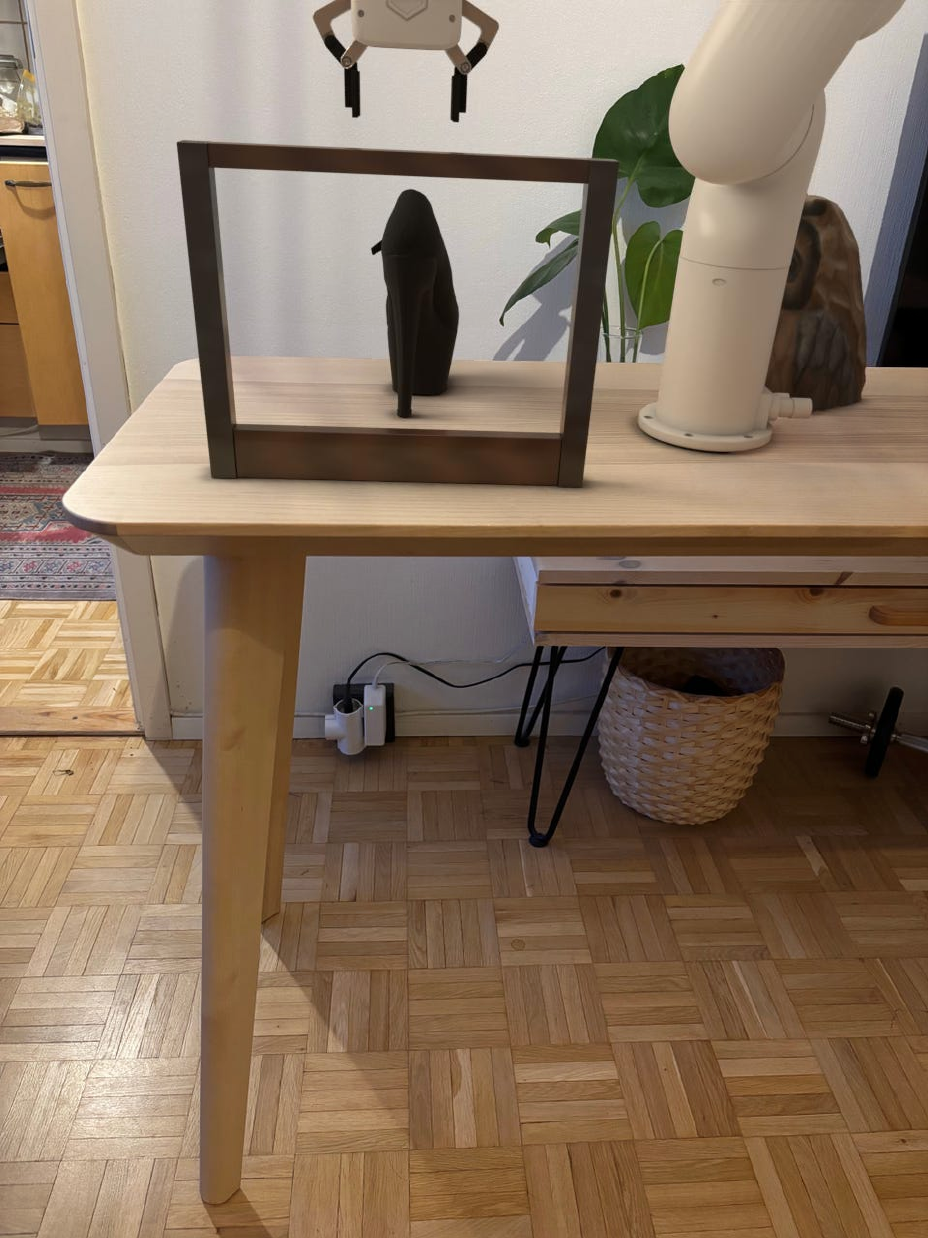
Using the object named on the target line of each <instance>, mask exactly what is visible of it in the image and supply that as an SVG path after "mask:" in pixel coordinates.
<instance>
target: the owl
mask: <svg viewBox="0 0 928 1238" xmlns="http://www.w3.org/2000/svg"><path fill="white" fill-rule="evenodd" d="M862 279H863V278H862V264H861V256H860V248H859V244H858V241H857V238H856V236H855V233H854V231H853V228H852V227H851V224H850V222H849V221H848V218H847V216H846V214H845V212H844V211H843V209H842V208H841V207H840V206H839V204H838V203H836V202H834V201H832V200H830V199H828V198H826V197H824V196H820V195H816V194H815V195H813V194H808V193H807V195H806V198H805V202H804V206H803V210H802V214H801V219H800V223H799V227H798V232H797V236H796V241H795V245H794V250H793V255H792V260H791V264H790V266H789V271H788V276H787V280H786V285H785V290H784V295H783V299H782V304H781V309H780V314H779V319H778V323H777V328H776V333H775V338H774V342H773V347H772V352H771V357H770V361H769V366H768V371H767V376H766V380H765V385H764V386H765V387H766V388H768V389H769V390H770V391H771V392H772V393H789V396H790V398H810V399H811V400H812V412H811V413H813V412H816V411H826V410H828V409H833V408H835V407H846V406H850V405H851V404H853V403H854V404H855V403H859V402H862V401H863V399H862V397H863V396H862V394H863V390H864V388H865V385H866V381H867V374H866V368H867V361H868V360H867V347H868V343H867V342H868V333H867V332H868V326H867V321H866V312H865V305H864V291H863V281H862Z"/></svg>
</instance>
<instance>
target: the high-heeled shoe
mask: <svg viewBox="0 0 928 1238" xmlns="http://www.w3.org/2000/svg"><path fill="white" fill-rule="evenodd" d="M440 229H441V228H440V226H439V223H438V220H437V218H436V215H435V212H434V209H433V205H432V202H431V201H430V200H429V198H428V196H426V194H424V192H423V193H422V192H421V191H419V190H416V189H414V188H408V189H404V190H403V191H401V193H400V194H399V196H398V197H397V199H396V202H395V204H394V207H393V209H392V211H391V213H390V215H389V217H388V219H387V221H386V224H385V227H384V231H383V234H382V238H381V240H379V241H378V242H377V243H375V244H374V245H373V246H372V247H370V251H371V255H372V256H375V255H377V253H380V254H381V260H382V271H383V280H384V284H385V287H386V292H387V293H386V294H387V295H386V300H385V316H386V317H385V318H386V326H387V328H386V329H387V330H386V331H387V332H386V335H387V346H388V347H387V348H388V357H389V365H390V374H391V383H392V384H391V385H392V386H391V388H392V391H393V392H395V393H397V409H396V415H397V416H399V417H411V416H412V415H413V409H412V404H413V403H412V402H413V395H440V394H443V393H444V392H446V391H447V389H448V384H449V376H450V371H451V368H452V367H451V366H452V361H453V356H454V353H455V352H454V351H455V347H456V341H457V336H458V330H459V322H460V309H459V304H458V301H457V296H456V292H455V286H454V279H453V278H454V277H453V270H452V266H451V260H450V257H449V254H448V250H447V247H446V243H445V241H444V238H443V235H442V233H441V230H440Z"/></svg>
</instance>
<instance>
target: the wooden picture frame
mask: <svg viewBox="0 0 928 1238" xmlns="http://www.w3.org/2000/svg"><path fill="white" fill-rule="evenodd" d="M176 151H177V160H178V161H177V162H178V171H179V182H180V190H181V199H182V210H183V219H184V229H185V230H184V231H185V238H186V239H185V240H186V248H187V257H188V258H187V259H188V266H189V267H188V268H189V277H190V287H191V297H192V305H193V315H194V325H195V333H196V334H195V335H196V343H197V344H196V345H197V355H198V364H199V373H200V381H201V383H200V384H201V391H202V392H201V393H202V402H203V403H202V404H203V413H204V422H205V431H206V432H205V433H206V439H207V441H206V442H207V451H208V459H209V470H210V477H211V479H212V478H213V479H237V478H249V479H250V478H252V479H256V478H257V479H286V480H287V479H291V480H292V479H293V480H326V481H327V480H328V481H329V480H330V481H331V480H332V481H364V482H365V481H367V482H368V481H370V482H373V481H374V482H410V483H411V482H412V483H446V484H448V483H449V484H450V483H451V484H454V483H455V484H486V485H487V484H488V485H489V484H490V485H523V486H524V485H526V486H527V485H528V486H529V485H530V486H557V487H558V488H559V487H560V488H583V483H584V474H585V466H586V457H587V448H588V440H589V431H590V422H591V414H592V405H593V398H594V397H593V395H594V387H595V378H596V370H597V361H598V353H599V345H600V335H601V328H602V327H601V326H602V319H603V310H604V302H605V301H604V300H605V292H606V291H605V290H606V283H607V276H608V275H607V273H608V265H609V259H610V258H609V256H610V248H611V240H612V230H613V222H614V214H615V204H616V196H617V189H618V188H617V187H618V179H619V171H620V161H619V160H617V159H615V158H598V157H571V156H570V157H569V156H545V155H544V156H543V155H524V154H523V155H522V154H520V155H519V154H505V153H504V154H499V153H482V152H481V153H479V152H477V153H476V152H456V151H432V150H410V149H407V150H406V149H392V148H391V149H388V148H369V147H367V148H366V147H347V146H345V147H343V146H320V145H301V144H299V145H298V144H297V145H295V144H279V143H278V144H275V143H252V142H230V141H211V140H194V139H193V140H191V139H182V140H177V141H176ZM215 169H232V170H234V169H235V170H254V171H255V170H257V171H277V172H279V171H281V172H301V173H302V172H304V173H324V174H325V173H326V174H327V173H328V174H349V175H350V174H351V175H374V176H396V177H398V176H399V177H418V178H420V177H421V178H443V179H447V178H448V179H467V180H488V181H489V180H491V181H493V180H494V181H509V182H510V181H514V182H533V183H534V182H536V183H537V182H538V183H558V184H581V185H582V184H583V191H582V200H581V208H580V209H581V210H580V221H579V229H578V231H579V232H578V241H577V251H576V260H575V261H576V262H575V273H574V281H573V291H572V292H573V293H572V300H571V301H572V302H571V310H570V311H571V312H570V321H569V322H570V323H569V333H568V340H567V341H568V343H567V351H566V352H567V353H566V362H565V374H564V383H563V391H562V392H563V394H562V401H561V402H562V404H561V412H560V413H561V415H560V423H559V432H547V431H546V432H541V431H509V430H505V431H504V430H475V429H474V430H473V429H472V430H471V429H468V430H467V429H440V428H439V429H436V428H434V429H432V428H402V427H399V428H398V427H371V426H369V427H366V426H365V427H363V426H330V425H329V426H328V425H299V424H298V425H296V424H295V425H293V424H265V423H262V424H261V423H237V415H236V414H237V413H236V402H235V391H234V380H233V379H234V378H233V368H232V357H231V355H232V354H231V345H230V334H229V331H230V330H229V320H228V309H227V299H226V298H227V297H226V287H225V286H226V284H225V273H224V262H223V252H222V251H223V250H222V240H221V229H220V218H219V205H218V204H219V203H218V194H217V183H216V170H215Z"/></svg>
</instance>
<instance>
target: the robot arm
mask: <svg viewBox="0 0 928 1238" xmlns="http://www.w3.org/2000/svg"><path fill="white" fill-rule="evenodd" d="M906 1H907V0H723V1H722V3H721V4H720V6H719V8H718V9H717V12H716V13H715V15H714V16H713V19H711V21H710V23H709V24H708V27H707V29H706V30H705V32H704V33H703V35H702V37H701V39H700V41H699V42H698V44H697V46H696V47H695V48H694V49H695V50H694V52H693V53H692V55H691V56H690V58H689V60H688V61H687V63H686V66H685V68H684V70H683V72H682V73H681V75H680V77H679V79H678V82H677V84H676V86H675V89H674V92H673V94H672V98H671V101H670V106H669V113H668V134H669V135H668V136H669V140H670V145H671V147H672V151H673V153H674V154H675V157H676V159H678V161H679V163H680V164H681V166H682V167H683V169H685V170H686V171H687V172H688V173H689V174H690V175H692V176H693V177H695V179H694V183H693V187H692V190H691V194H690V198H689V201H688V207H687V211H686V215H685V221H684V225H683V231H682V237H681V244H680V251H679V255H678V262H677V268H676V275H675V282H674V288H673V294H672V301H671V307H670V314H669V320H668V327H667V335H666V340H665V347H664V354H663V361H662V367H661V373H660V380H659V387H658V394H657V400H656V401H655V402H651V403H649V404H646V405H644V406H643V407H642V408H640V410H639V412H638V418H637V424H638V427H639V428H640V429H641V430H642V431H643V432H644V433H645V434H647V435H648V436H650V437H651V438H654V439H656V440H658V441H660V442H664V443H667V444H669V445H673V446H677V447H681V448H686V449H691V450H697V451H704V452H705V451H706V452H717V453H718V452H720V453H725V452H726V453H734V452H746V451H751V450H756V449H758V448H761V447H764V446H765V445H767V444H768V443H769V442H770V440H772V434H773V425H772V423H771V422H775V421H777V419H778V418H788V419H797V420H799V419H800V420H808V419H809V418H810V417H811V415H812V413H813V412H812V400H811V399H810V398H790V396H789V393H772V392H771V391H770V390H769V389H768V388H766V387H765V386H764V385H765V380H766V376H767V371H768V366H769V361H770V357H771V352H772V347H773V342H774V338H775V333H776V328H777V323H778V319H779V314H780V309H781V304H782V299H783V295H784V290H785V285H786V280H787V276H788V271H789V266H790V264H791V260H792V255H793V250H794V245H795V241H796V236H797V232H798V227H799V223H800V219H801V214H802V210H803V206H804V202H805V198H806V195H807V194H808V191H809V188H810V183H811V180H812V176H813V173H814V169H815V166H816V163H817V159H818V156H819V153H820V152H819V151H820V148H821V145H822V140H823V137H824V136H823V135H824V130H825V124H826V116H827V115H826V114H827V100H826V92H825V88H827V86H828V84H830V82H831V80H832V78H833V77H834V76H835V74H836V73H837V71H838V70H839V68H840V67H841V66H842V64H843V62H845V60H846V58H847V57H848V55H849V54H850V53H851V51H852V49H853V48H854V47H855V45H856V44H857V42H859V41H862V40H865V39H866V38H868V37H870V36H872V35H874V34H876V33H877V32H879V31H880V30H881V29H882V28H884V27H885V26H886V25H888V24H889V22H891V20H892V19H893V18H894V17H895V16H896V15H897V14H898V13H899V11H900V10H901V9H902V7H903V5H904V4H905V2H906ZM349 12H350V24H351V33H352V36H353V38H354V39H353V40H352V42H351V44H350V45H349V46H348V48H347V49H346V48H345V46H344V45H343V44H342V42H341V41H340V40H339V39H338V38H337V36H336V34H335V32H334V29H333V26H332V23H333V21H334V20H336V19H338V18H339V17H341V16H343V15H344V14H347V13H349ZM463 18H464V19H466V20H467V21H468V22H470V23H471V24H473V25H474V26H476V27H477V28H478V29H479V31H480V34H479V36H478V39H477V41H476V43H475V44H474V46H473V47H472V48H471V49H470V50H469V51H467V53H466V54H465V53H464V51H463V50H462V48H461V47H460V46H459V42H460V40H461V38H462V25H463ZM312 20H313V22H314V25H315V27H316V29H317V31H318V33H319V36H320V37H321V39H322V42H323V44H324V46H325V48H326V49H327V51H329V53H330V54H331V55H332V56H333V57H334V59H336V61H337V62H338V63H339V64H340V66H341V67H342V68H343V77H344V78H343V80H344V81H343V82H344V83H343V84H344V107H345V108H346V109H347V108H349V109H351V118H353V119H358V118H359V117H361V71H360V70H359V69H358V61H359V60H360V58H361V57H362V56H363V54H365V52H366V51H367V49H368V47H369V48H370V47H371V48H378V49H379V48H381V49H401V50H416V51H417V50H419V51H444V53H445V54H446V56H447V58H448V59H449V60H450V62H451V63H452V65H453V66H454V67H453V75H451V83H450V85H451V86H450V113H449V114H450V116H449V117H450V121H452V122H453V123H460V113H461V114H466V113H467V99H468V75H469V74H470V73H471V72H472V70H473V69H474V68H475V67H477V65H478V64H479V63H480V62H481V61H482V60H483V59H484V58H485V57H486V55H488V52H489V49H490V47H491V46H492V43H493V41H494V40H495V37H496V35H497V33H498V31H499V29H500V24H499V22H498V21H497V20H496V19H494V18H493V17H491V15H489V14H487V13H486V12H485V11H483V10H482V9H480V8H479V7H477V6H476V5H474V4H473V3H471V2H470V1H468V0H332V1H331V2H329V3H327V4H325V5H324V6H322V7H320V8H319V9H316V10H315V11H314V12H313V14H312Z"/></svg>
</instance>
